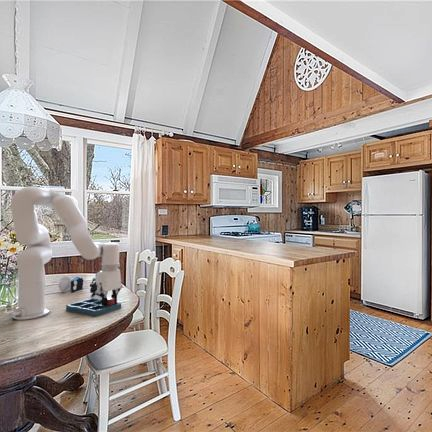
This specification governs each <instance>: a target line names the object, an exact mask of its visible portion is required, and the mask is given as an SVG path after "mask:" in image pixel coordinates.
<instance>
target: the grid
mask: <svg viewBox="0 0 432 432" xmlns="http://www.w3.org/2000/svg"><path fill="white" fill-rule="evenodd" d="M120 309H122V302H118V301H117V303H115V304H113V305H107V306H105V305H102V298H101V299H100V298H94V297H91V298H88V299H84V300H81V301H77V302H74V303H69V304H66V305H65V311H66V312H70V313H71V312H72V313H77V314H81V315H86V316H90V317H94V318H95V317H98V316H102V315H105V314H108V313H112V312H114V311H117V310H120Z"/></svg>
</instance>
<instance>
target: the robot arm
mask: <svg viewBox="0 0 432 432" xmlns="http://www.w3.org/2000/svg"><path fill="white" fill-rule="evenodd" d="M35 206H43V207H46V208H50V209H53V210H54V211H55V213H56V214H57V216H58V217H59V219H60V221H62V223H63V224H64V227H65V228H66V229H67V232H68V235H69V237H70V239H71V241H72V244H73V245H74V248H75V249H76V250H77V251H78V253H79V254H80V256H81V257H82V258H84V260H89V261H90V260H95V259H97V258H100V257H101V270H100V271H99V272H100V273H99V277H98V284H97V290H96V292H95V293H96V294H98V295H100V296H99V297H100V298H101V300H102V305H105V306H107V303H108V298H107V297H108V292H111V296H110V297H114V298H115V303H117V302H118V295H119V293H120V291H121V290H122V289H123V288H124V285H123V284H122V275H121V269H120V267H121V264H120V244H119V243H117V242H105V243H104V242H97V241H95V242H94V240H93V239H92V237H91V235H90V233H89V230H88V221H87V220H86V218H85V216H84V215H83V213H82V212H81V210H80V209H79V201H78V200H77V199H76V197H74V196H72V195H69V194H68V195H67V194H64V193H61V192H57V191H55V190H51V189H48V188H45V187H42V186H41V187H40V186H35V185H33V186H32V185H31V186H25V187H22V188H20V189H18V190H17V191H16V192H15V193H14V194H13V196H12V197H11V199H10V210H11V215H12V222H13V227H14V233H15V239H16V241H17V242H18V243H19V244H20V245H24V246H26V248H25V249H23V250H22V251H20V252H19V254H18V256H17V259H16V266H17V273H18V275H17V276H18V287H17V288H18V289H17V290H18V291H17V293H18V294H17V307H15V308H14V309H13V310H12V311H11V310H10V311H7V312H4V317H5V318H7V317H12V318H13V319H14V320H19V321H21V320H32V319H37V318H41V317H45V316H46V315H48V314H49V313H50V310H49V309H47V308H46V307H45V306H46V301H45V300H46V269H45V264H47V263H49V262H50V261H51V259H52V258H53V247H52V243H51V236H50V232H49V230H48V229H47V228H46V227H45V226H44V225H42V224H39V220H38V214H37V212H36V209H35ZM100 291H102V292H100ZM98 295H97V296H98Z"/></svg>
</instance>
